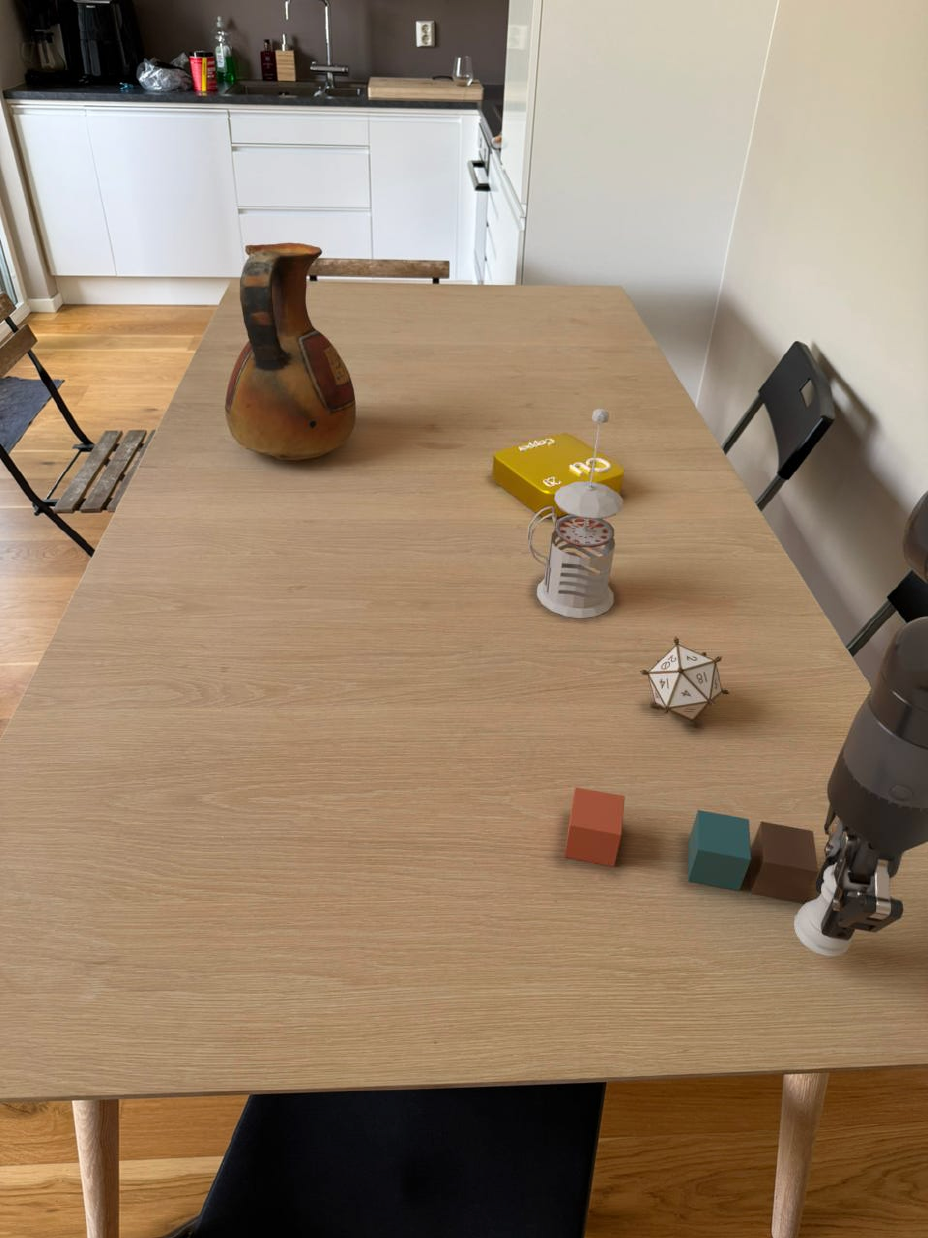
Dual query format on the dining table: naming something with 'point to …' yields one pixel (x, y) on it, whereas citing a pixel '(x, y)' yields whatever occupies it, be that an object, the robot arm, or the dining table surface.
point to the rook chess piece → (820, 920)
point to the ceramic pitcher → (286, 363)
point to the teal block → (719, 850)
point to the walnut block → (783, 862)
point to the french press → (580, 547)
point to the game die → (685, 682)
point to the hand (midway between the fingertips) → (831, 911)
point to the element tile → (551, 470)
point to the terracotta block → (595, 827)
